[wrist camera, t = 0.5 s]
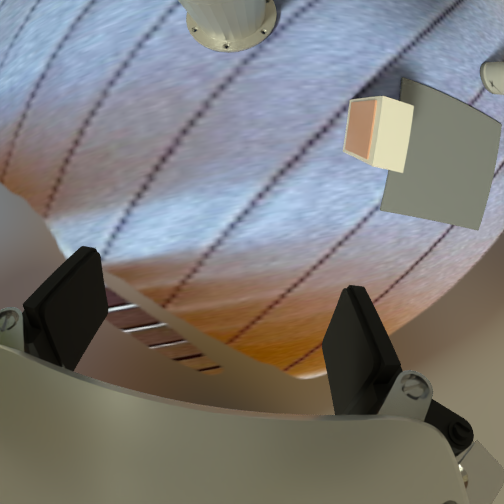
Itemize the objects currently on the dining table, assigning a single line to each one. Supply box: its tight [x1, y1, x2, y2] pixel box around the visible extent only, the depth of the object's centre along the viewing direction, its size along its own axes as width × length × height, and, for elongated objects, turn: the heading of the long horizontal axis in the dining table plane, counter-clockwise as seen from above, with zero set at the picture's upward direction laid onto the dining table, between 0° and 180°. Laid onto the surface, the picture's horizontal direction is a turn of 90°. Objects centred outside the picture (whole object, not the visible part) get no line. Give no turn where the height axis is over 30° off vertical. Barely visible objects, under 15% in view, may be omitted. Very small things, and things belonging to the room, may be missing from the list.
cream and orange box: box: [343, 96, 414, 173], centre depth 31 cm, size 8×4×12 cm, turn 175°
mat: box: [380, 77, 502, 230], centre depth 37 cm, size 22×24×1 cm
